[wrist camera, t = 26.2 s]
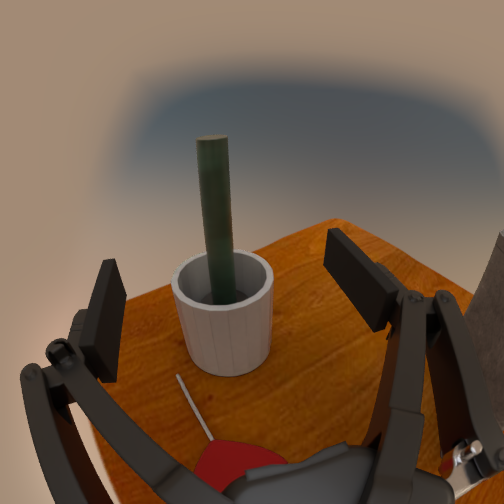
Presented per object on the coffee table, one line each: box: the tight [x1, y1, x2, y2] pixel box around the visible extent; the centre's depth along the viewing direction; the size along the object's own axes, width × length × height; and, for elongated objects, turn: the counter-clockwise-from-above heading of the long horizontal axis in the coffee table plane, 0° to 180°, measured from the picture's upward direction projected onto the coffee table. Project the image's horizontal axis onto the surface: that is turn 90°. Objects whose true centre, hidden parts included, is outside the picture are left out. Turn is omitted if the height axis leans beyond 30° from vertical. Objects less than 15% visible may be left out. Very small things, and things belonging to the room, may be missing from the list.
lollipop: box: [176, 374, 288, 493], centre depth 20 cm, size 8×1×15 cm
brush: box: [196, 135, 248, 305], centre depth 24 cm, size 5×5×20 cm
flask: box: [441, 230, 504, 458], centre depth 15 cm, size 4×14×18 cm, turn 158°
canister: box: [171, 249, 274, 377], centre depth 27 cm, size 9×9×9 cm
